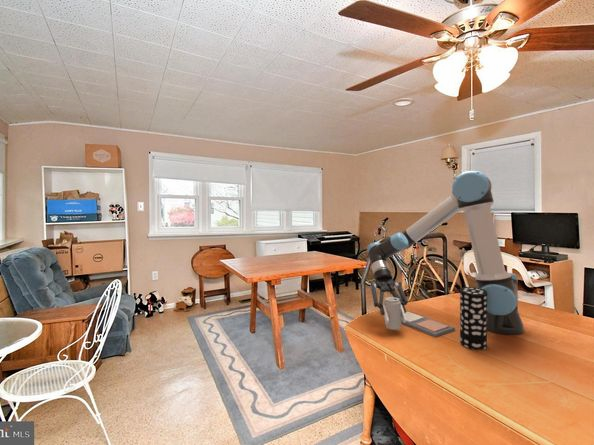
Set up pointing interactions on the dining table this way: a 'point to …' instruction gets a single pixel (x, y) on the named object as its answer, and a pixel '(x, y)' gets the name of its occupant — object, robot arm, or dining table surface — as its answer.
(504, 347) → the dining table surface
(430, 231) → the robot arm
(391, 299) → the beverage can
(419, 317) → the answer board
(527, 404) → the dining table surface
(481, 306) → the spotted tube
